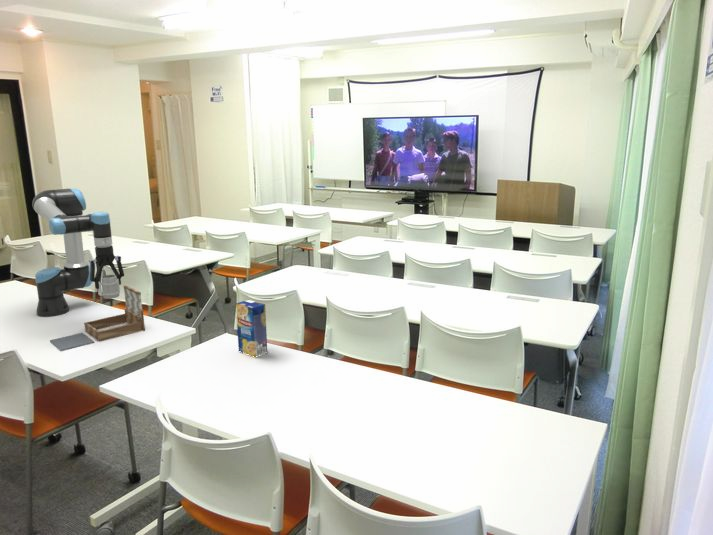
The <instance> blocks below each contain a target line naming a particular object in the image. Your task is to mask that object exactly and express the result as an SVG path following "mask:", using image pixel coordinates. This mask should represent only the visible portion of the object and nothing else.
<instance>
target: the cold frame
mask: <svg viewBox="0 0 713 535" xmlns="http://www.w3.org/2000/svg"><path fill="white" fill-rule="evenodd" d="M123 291H124V300H125V301H124V302H125V309H124V313H122V314H118V315H113V316H109V317H104V318H100V319H95V320H92V321H86V322H84V331H85V333H87V335H89V336H90V337H92V338H93V339H95V340H96V341H98V343H100V342H103V341H107V340H111V339H114V338H118V337H123V336H127V335H130V334H136V333H139V332H146V325H145V318H144V317H145V316H144V311H143V303H142V294H141V293H142V292H141V291H139V290H137V289H134V288H132V287H131V286H128V285H126V284H124V285H123ZM122 324H123V325H122ZM124 324H125V325H124ZM118 325H119V326H118ZM115 326H116V327H115ZM108 327H109V328H108ZM110 327H112V328H110ZM105 328H108V329H105ZM101 329H103V330H101Z"/></svg>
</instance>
